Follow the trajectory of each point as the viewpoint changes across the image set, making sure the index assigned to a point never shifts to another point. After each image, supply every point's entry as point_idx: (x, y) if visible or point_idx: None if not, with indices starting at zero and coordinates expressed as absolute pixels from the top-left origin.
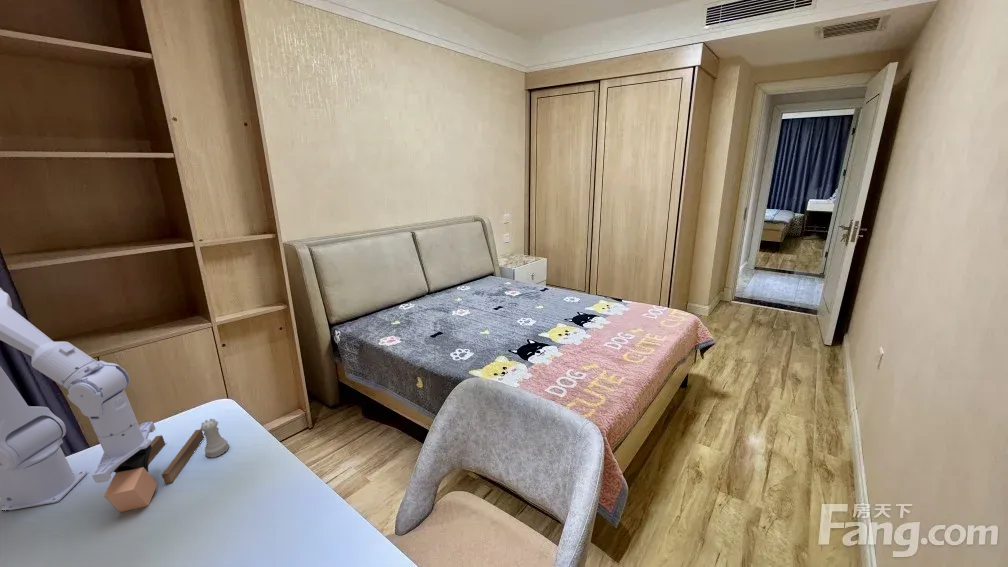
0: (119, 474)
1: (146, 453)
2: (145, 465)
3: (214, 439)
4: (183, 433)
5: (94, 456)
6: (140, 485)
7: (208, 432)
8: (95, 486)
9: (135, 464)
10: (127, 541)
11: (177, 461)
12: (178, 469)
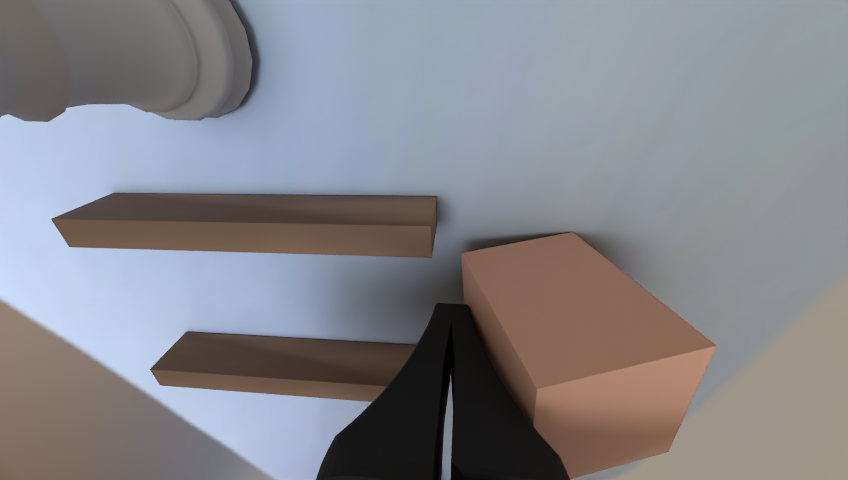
0: None
1: (421, 450)
2: (437, 370)
3: (97, 4)
4: (115, 297)
5: (263, 465)
6: (618, 320)
7: (5, 36)
8: None
9: (564, 470)
10: (807, 213)
11: (327, 224)
12: (356, 203)
